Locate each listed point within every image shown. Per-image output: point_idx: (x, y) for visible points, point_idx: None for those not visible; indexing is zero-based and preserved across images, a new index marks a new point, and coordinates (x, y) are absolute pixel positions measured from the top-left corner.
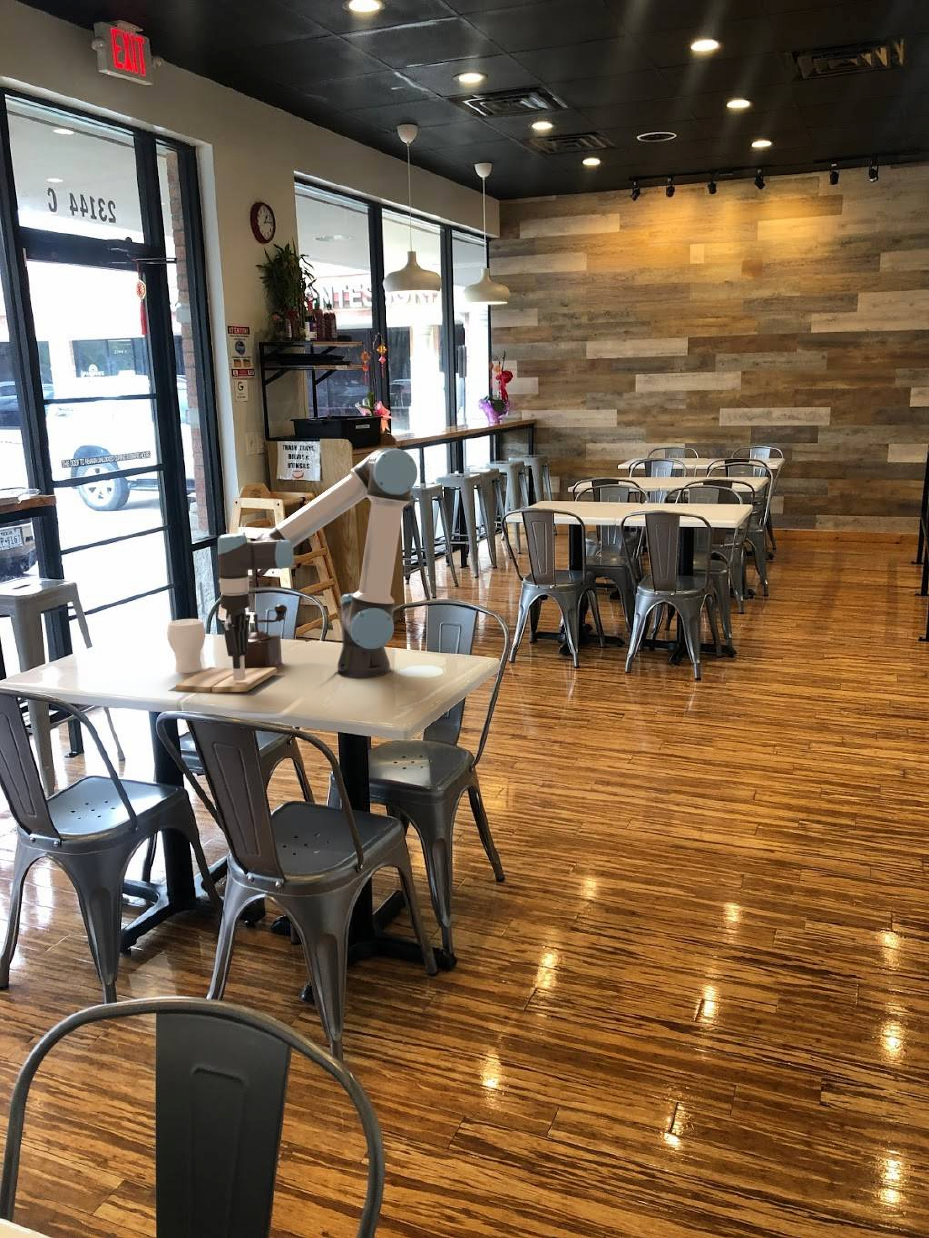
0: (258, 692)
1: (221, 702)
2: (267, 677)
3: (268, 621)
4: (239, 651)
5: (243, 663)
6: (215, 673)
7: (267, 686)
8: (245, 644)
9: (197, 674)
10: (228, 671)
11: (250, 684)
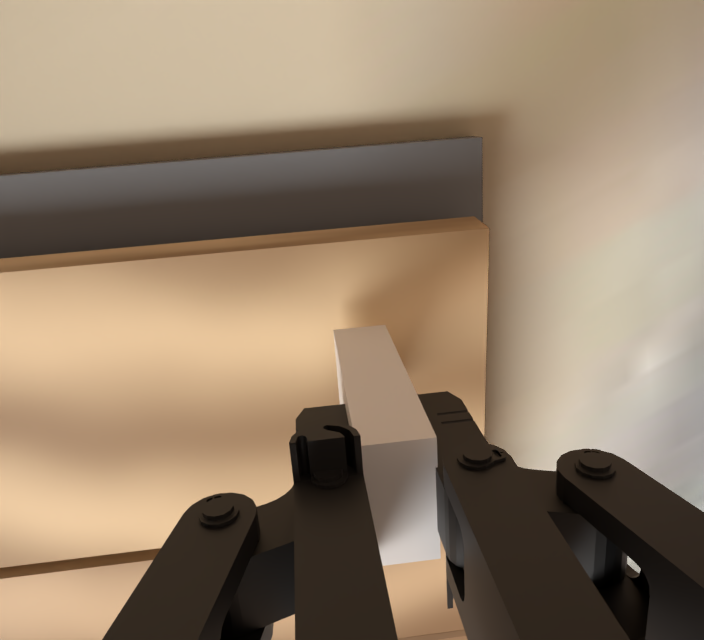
0: (397, 143)
1: (597, 331)
2: (17, 258)
3: None
4: (512, 489)
5: (376, 393)
6: None
7: (196, 162)
8: (235, 575)
9: None
10: (24, 634)
11: (399, 233)
